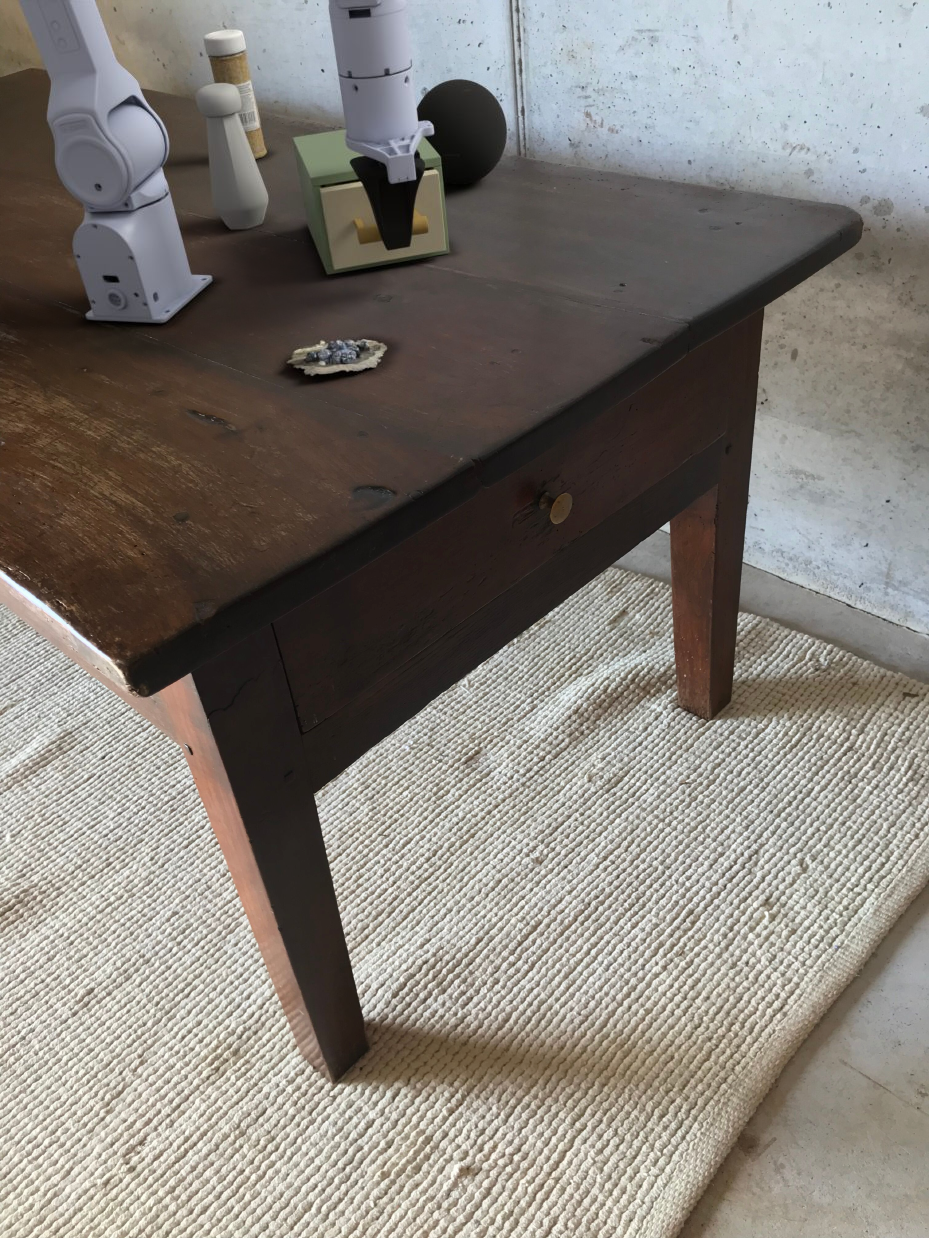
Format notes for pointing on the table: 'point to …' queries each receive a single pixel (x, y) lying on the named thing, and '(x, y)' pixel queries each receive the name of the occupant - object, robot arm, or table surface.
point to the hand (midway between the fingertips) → (397, 246)
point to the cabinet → (330, 164)
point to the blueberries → (338, 356)
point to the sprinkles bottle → (236, 80)
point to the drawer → (358, 231)
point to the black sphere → (464, 129)
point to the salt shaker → (231, 159)
